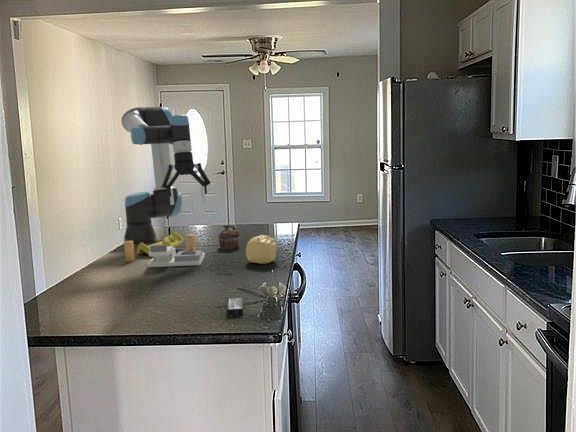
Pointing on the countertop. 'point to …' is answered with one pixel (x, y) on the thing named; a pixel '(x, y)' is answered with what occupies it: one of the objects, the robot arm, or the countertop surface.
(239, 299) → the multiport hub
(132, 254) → the peg
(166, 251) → the lid
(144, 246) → the plastic component
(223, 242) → the cupcake
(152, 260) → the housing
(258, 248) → the sculpture
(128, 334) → the countertop surface
